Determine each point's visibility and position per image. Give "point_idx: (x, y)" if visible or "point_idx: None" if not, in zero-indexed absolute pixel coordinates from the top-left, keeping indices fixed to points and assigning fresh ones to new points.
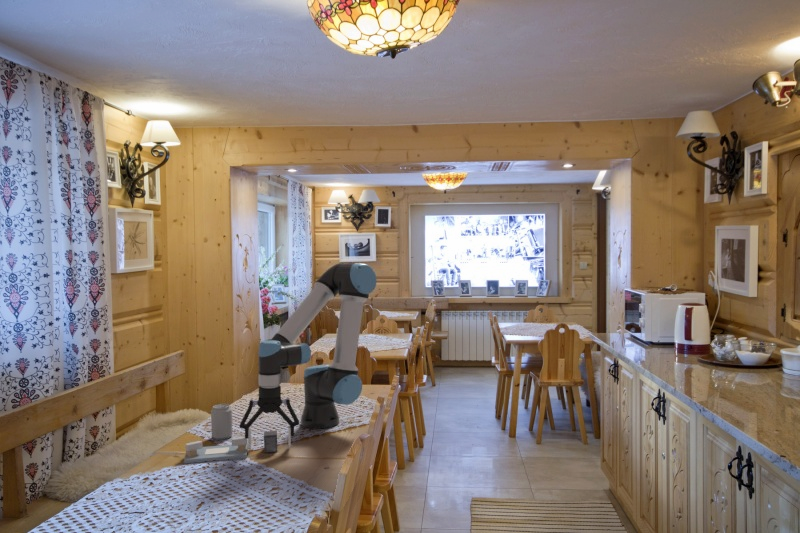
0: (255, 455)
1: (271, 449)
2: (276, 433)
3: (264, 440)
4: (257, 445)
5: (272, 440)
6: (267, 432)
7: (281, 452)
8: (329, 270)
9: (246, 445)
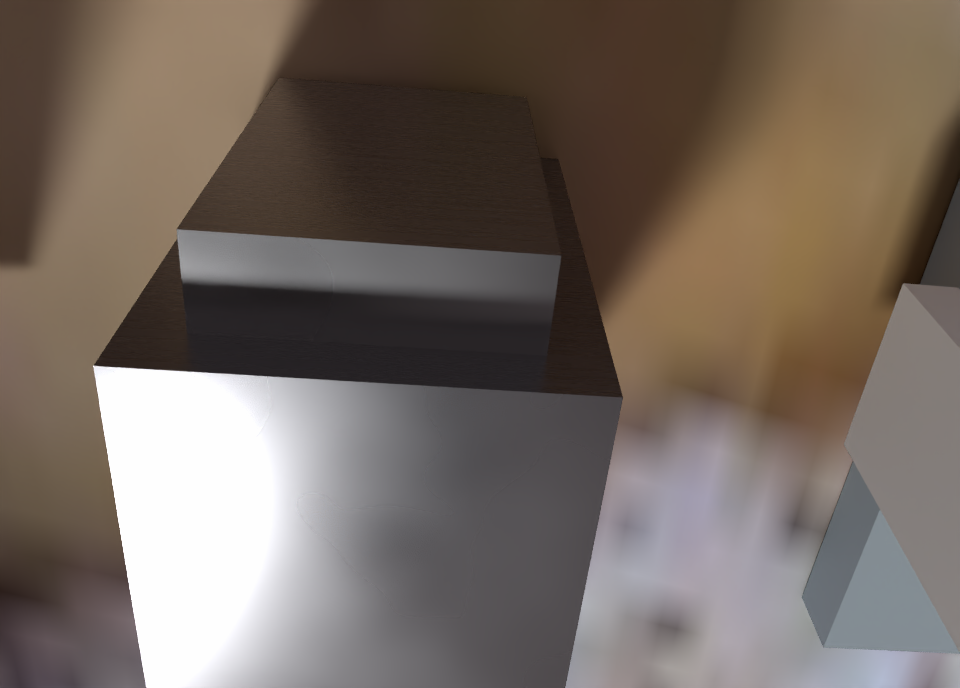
0: (793, 49)
1: (382, 101)
2: (133, 500)
3: (583, 302)
4: (632, 603)
5: (310, 194)
6: (457, 667)
7: (137, 50)
8: None
9: (888, 549)
